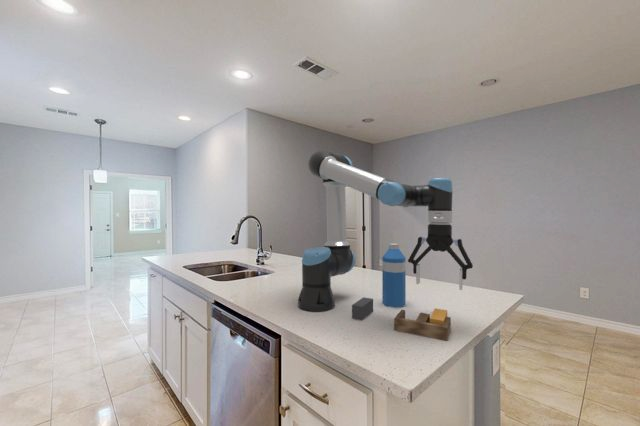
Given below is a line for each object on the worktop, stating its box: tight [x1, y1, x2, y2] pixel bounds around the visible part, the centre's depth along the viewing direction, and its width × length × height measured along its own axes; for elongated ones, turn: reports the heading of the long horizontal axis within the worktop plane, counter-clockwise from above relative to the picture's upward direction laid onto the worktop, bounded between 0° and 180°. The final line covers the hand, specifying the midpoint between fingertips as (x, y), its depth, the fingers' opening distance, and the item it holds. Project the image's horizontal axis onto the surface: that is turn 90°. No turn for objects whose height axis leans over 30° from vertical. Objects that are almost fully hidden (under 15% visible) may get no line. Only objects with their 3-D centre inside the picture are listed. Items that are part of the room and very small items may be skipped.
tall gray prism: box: [351, 297, 374, 321], centre depth 107 cm, size 4×11×5 cm, turn 150°
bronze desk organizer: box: [393, 309, 452, 342], centre depth 93 cm, size 16×10×4 cm, turn 60°
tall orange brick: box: [430, 308, 448, 325], centre depth 94 cm, size 4×11×5 cm, turn 150°
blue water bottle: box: [381, 243, 407, 308], centre depth 120 cm, size 9×9×25 cm
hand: (438, 286), depth 98 cm, fingers open, 13 cm apart
